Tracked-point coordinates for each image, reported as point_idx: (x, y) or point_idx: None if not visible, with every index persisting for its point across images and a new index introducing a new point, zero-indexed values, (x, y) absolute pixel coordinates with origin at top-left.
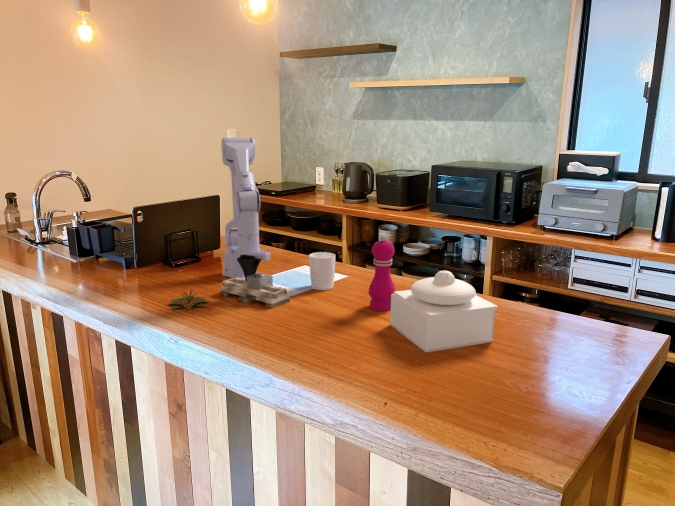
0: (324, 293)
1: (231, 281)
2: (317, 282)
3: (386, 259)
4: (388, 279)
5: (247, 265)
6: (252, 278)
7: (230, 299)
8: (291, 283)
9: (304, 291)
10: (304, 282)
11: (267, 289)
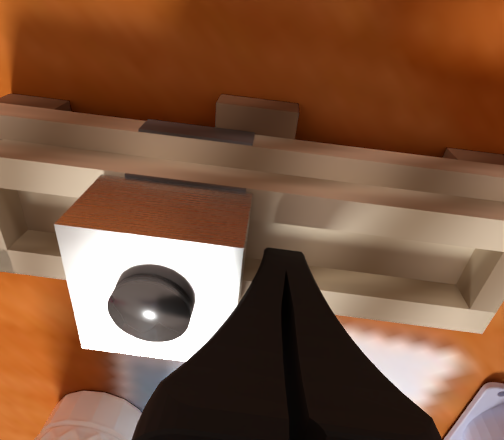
0: (32, 370)
1: (481, 270)
2: (71, 422)
3: None
4: None
5: (224, 357)
6: (163, 234)
7: (380, 103)
8: None
9: (115, 362)
10: None
11: None
